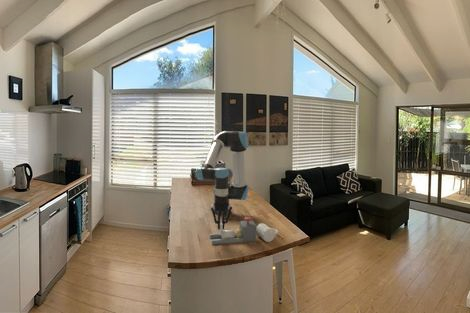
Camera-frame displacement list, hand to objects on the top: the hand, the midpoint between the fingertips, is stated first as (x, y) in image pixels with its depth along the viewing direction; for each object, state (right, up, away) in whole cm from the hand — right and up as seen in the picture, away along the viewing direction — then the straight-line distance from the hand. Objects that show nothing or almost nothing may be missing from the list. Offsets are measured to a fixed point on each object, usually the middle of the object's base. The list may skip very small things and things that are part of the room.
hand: (220, 234), depth 157 cm
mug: (+28, -5, +7) cm, 30 cm away
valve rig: (+7, -4, +2) cm, 8 cm away
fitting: (+4, -3, +1) cm, 5 cm away
